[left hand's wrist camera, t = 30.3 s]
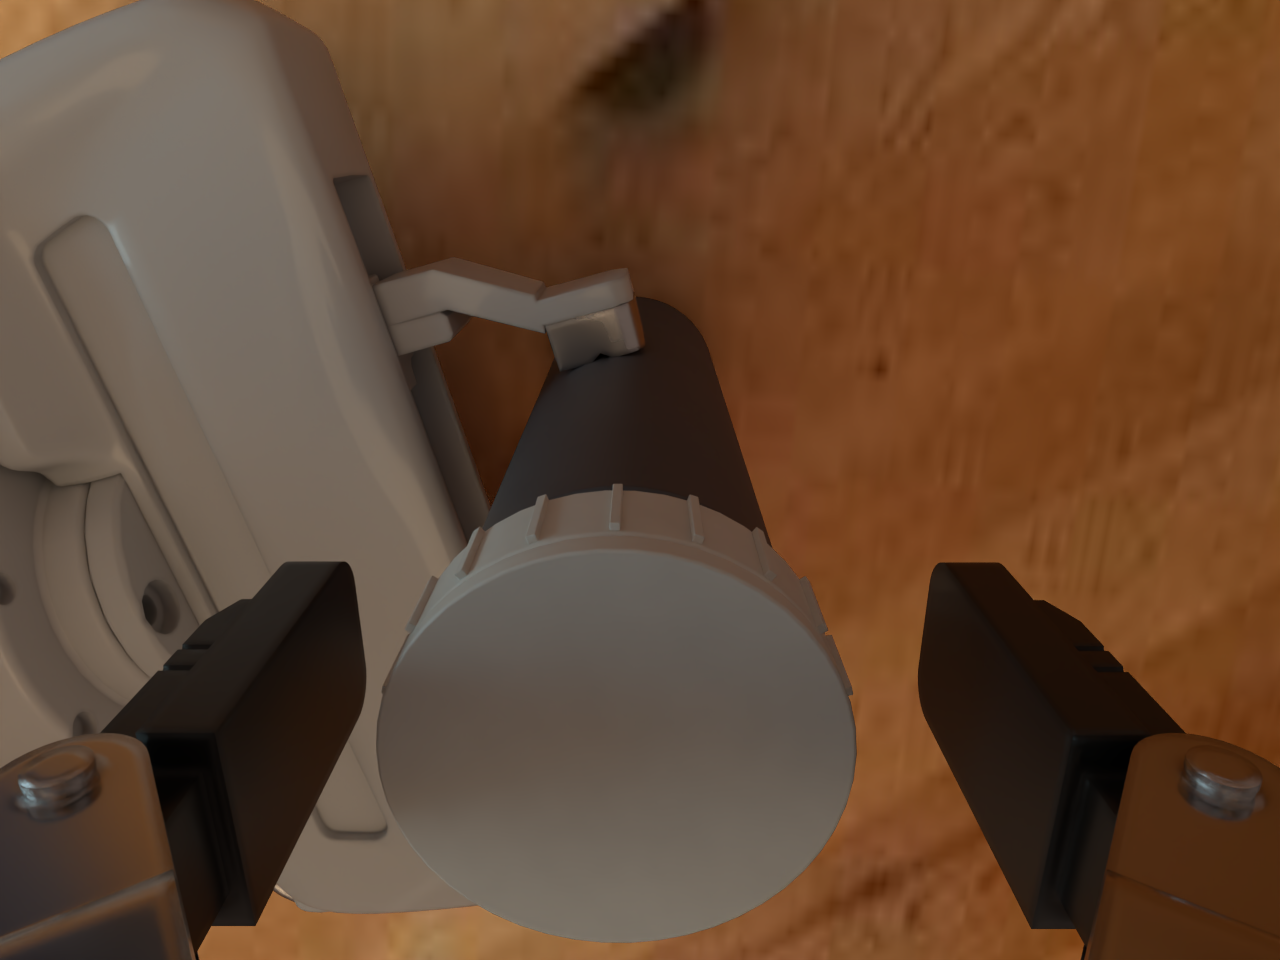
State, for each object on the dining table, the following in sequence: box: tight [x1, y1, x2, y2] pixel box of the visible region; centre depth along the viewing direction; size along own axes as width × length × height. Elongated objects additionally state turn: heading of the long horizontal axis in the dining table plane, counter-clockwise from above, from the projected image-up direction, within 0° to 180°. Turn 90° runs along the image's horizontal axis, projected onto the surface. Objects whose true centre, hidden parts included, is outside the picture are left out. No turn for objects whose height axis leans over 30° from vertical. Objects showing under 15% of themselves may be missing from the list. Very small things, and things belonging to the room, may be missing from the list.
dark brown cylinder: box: [482, 297, 772, 548], centre depth 17 cm, size 4×4×16 cm
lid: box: [376, 484, 857, 943], centre depth 10 cm, size 5×5×2 cm
